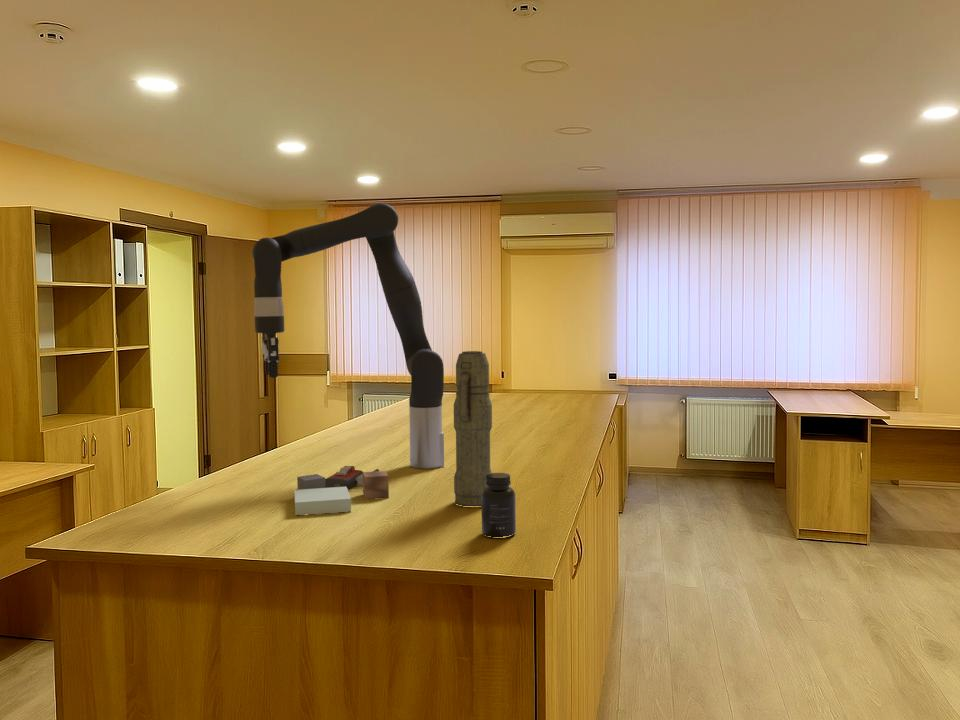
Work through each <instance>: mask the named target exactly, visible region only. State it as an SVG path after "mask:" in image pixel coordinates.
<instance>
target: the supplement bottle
mask: <svg viewBox="0 0 960 720" xmlns="http://www.w3.org/2000/svg"><path fill="white" fill-rule="evenodd" d="M511 484H512V483H511V475H510V474H509V473H506V472H492V473H491V474H487V475H486V485H487V487H486V488H485V489H484V490H483V491H482V493H481V507H480V508H481V533H483V534H484V535H486V536H491V537H503V536H509V535H512V534H514V533H515V532H517V529H516V528H517V522H516V521H517V519H516V515H517V514H516V512H517V510H516V509H517V507H516V503H517V502H516V492H515V490H514V489H513V488H512V487H511V486H510V485H511ZM483 534H482V535H483ZM515 534H516V533H515ZM515 534H514V535H515ZM484 535H483V536H484Z"/></svg>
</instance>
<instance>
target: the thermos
mask: <svg viewBox="0 0 960 720" xmlns="http://www.w3.org/2000/svg"><path fill="white" fill-rule="evenodd" d="M486 354H487V353H485V352H483V351H479V350H476V351H475V350H472V351H471V350H467V351H462V352H461V353H459V354H458V357H457V360H456V363H455V386H456V392H455V399H454V402H453V429H454V430H455V431H454V432H455V455H456V456H455V464H456V465H455V466H456V467H455V468H456V471H455V472H454V477H453V490H454V491H453V492H454V495H455V497H454V499H455V500H454V504H455V503H456V504H458V505H462V506H481V493H482V491H483V490H484V489H485V488H486V487H487V485H486V475H487V474H491V473H493V472H492V469H491V430H492V428H493V405H492V401H491V397H490V392H489V386H490V364H489V360H488V357H487V355H486ZM456 504H455V505H456Z"/></svg>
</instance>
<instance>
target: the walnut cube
mask: <svg viewBox="0 0 960 720" xmlns="http://www.w3.org/2000/svg"><path fill="white" fill-rule="evenodd" d="M389 486H390V483H389V474H388V473H387V471H386V470H379V471H375V472H373V471H365V472H364V471H363V485H362V494H364V495H363V497H364V499H369V500H376V499H375V498H383V499H389V498H390V494H389V492H390V491H389Z"/></svg>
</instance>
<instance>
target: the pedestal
mask: <svg viewBox="0 0 960 720" xmlns="http://www.w3.org/2000/svg"><path fill="white" fill-rule="evenodd" d="M294 509H295V510H294V511H295V513H294V514H295V516H296V515H304V516H306V515H305V514H317V515H322V514H321V513H331V514H339V513H338V512H345V513H349V512H348V511H351V512H352V498H351V495H350V493H349V490H348V489H347V487H331V488H316V489H301V490H298V489H294Z"/></svg>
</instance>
